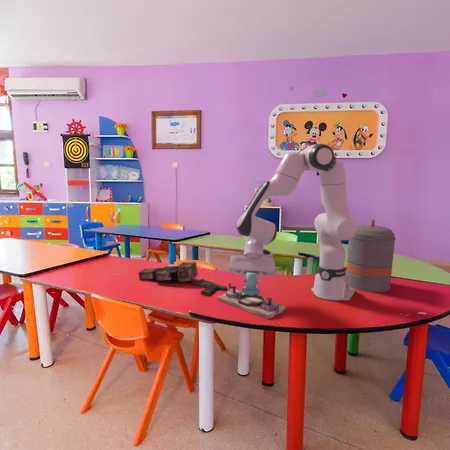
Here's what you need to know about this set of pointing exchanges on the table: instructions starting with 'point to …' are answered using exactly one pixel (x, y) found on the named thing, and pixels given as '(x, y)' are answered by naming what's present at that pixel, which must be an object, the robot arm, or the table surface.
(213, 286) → the gun
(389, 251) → the storage container
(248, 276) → the teal gear
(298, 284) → the table surface
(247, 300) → the board
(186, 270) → the toy
